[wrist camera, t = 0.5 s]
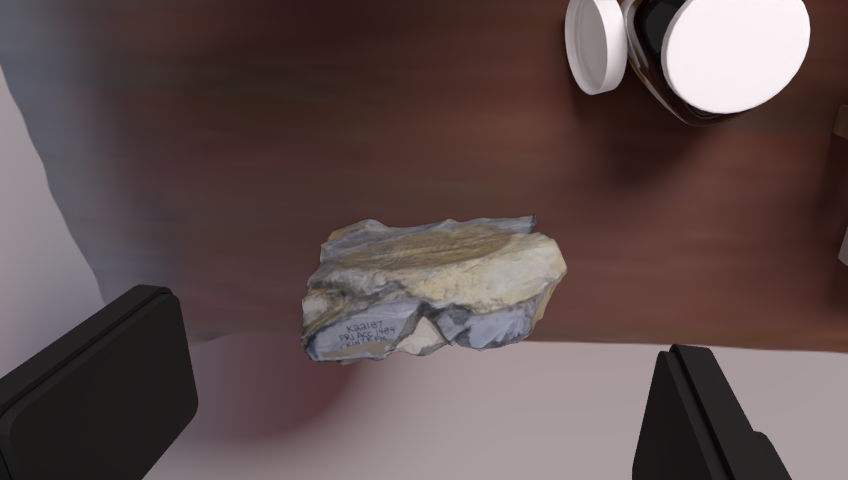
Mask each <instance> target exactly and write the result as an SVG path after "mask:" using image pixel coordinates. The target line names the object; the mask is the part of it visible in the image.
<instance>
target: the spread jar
mask: <svg viewBox="0 0 848 480" xmlns="http://www.w3.org/2000/svg"><path fill="white" fill-rule="evenodd" d="M809 37H810V24H809V16H808V13H807V11H806V8H805V5H804V3H803V2H802V1H801V0H624V1H623V3H622V4H621V6H620V7H619V5H618V3H617V1H616V0H570V2H569V5H568V8H567V12H566V19H565V43H566V51H567V56H568V61H569V64H570V68H571V71H572V73H573V76H574V78H575V80H576V82H577V84H578V85H579V87H580V88H581V89H582V90H583V91H584V92H585V93H587V94H590V95H594V94H598V93H602V92H606V91H610V90H613V89H615V88H616V87H617V86H618V85H619V83H620V82H621V80H622V78H623V75H624V72H625V68H626V62H627V58H628V60H629V62H630V64H631V66H632V68H633V69H634V71H635V72H636V74H637V75H638V77H639V78H640V79H641V81H642V82H643V83H644V84H645V86H646V87H647V88H648V89H649V90H650V92H651V93H652V94H653V95H654V96H655V97H656V98H657V99H658V100H659V101H660V102H661V103H662V104H663V105H664V106H665V107H666V108H667V109H668V110H669V111H671V112H672V113H673V114H674V115H676V116H677V117H678V118H680V119H681V120H682V121H684V122H685V123H687V124H689V125H691V126H694V127H709V126H714V125H718V124H721V123H724V122H726V121H729V120H731V119H734V118H736V117H738V116H740V115H742V114H744V113H746V112H748V111H750V110H751V109H753V108H755V107H756V106H758V105H760V104H762V103H764V102H766V101H767V100H769V99H770V98H772V97H773V96H775V95H776V94H777V93H779V92H780V91H781V90H782V89H783V88H784V87H785V86H786V85H787V84H788V83H789V82H790V81H791V79H792V78H793V77H794V75H795V74H796V73H797V71H798V70H799V68H800V66H801V64H802V62H803V60H804V58H805V55H806V52H807V48H808V45H809Z"/></svg>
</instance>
